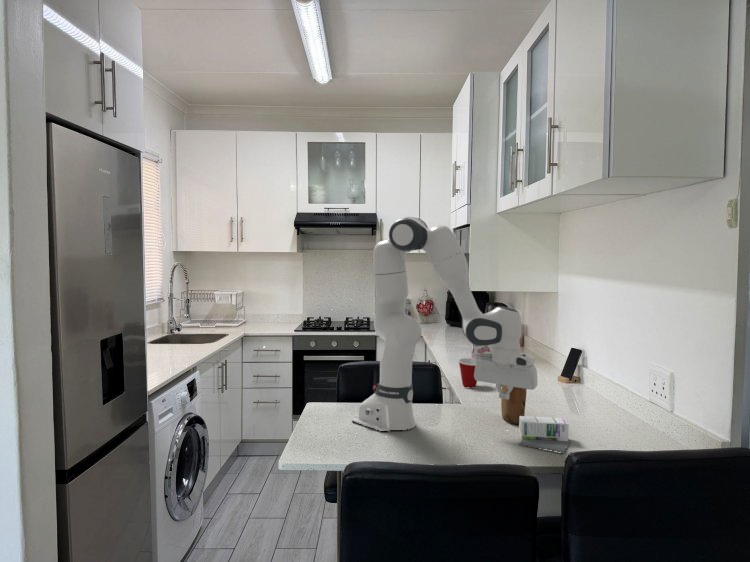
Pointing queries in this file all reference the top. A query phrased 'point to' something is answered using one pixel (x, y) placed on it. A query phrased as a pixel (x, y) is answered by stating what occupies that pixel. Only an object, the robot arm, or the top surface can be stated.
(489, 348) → the candy bar box
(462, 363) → the plastic cup
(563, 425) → the syrup box
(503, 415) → the block
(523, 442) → the mat
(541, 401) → the top surface
